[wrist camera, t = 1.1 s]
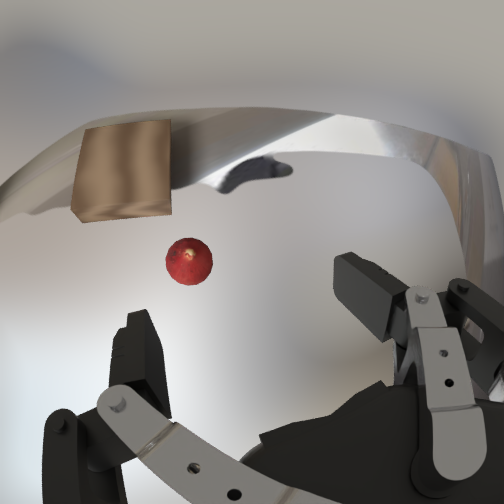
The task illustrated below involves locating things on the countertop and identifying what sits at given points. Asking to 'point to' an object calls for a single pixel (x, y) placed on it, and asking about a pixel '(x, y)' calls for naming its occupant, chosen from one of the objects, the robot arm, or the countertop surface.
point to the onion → (189, 261)
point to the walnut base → (124, 172)
